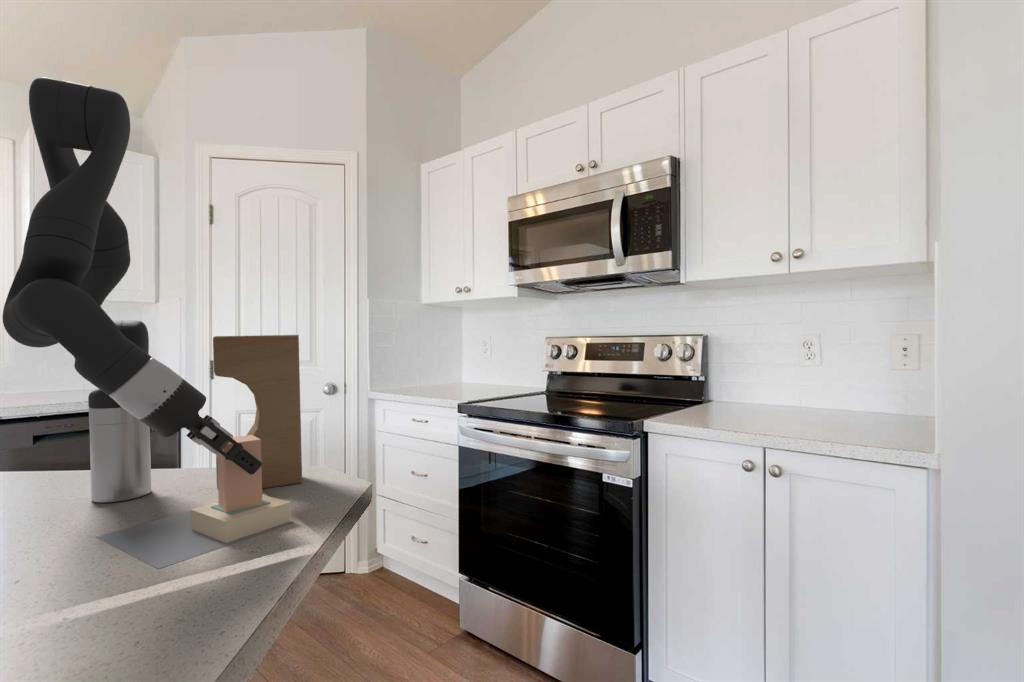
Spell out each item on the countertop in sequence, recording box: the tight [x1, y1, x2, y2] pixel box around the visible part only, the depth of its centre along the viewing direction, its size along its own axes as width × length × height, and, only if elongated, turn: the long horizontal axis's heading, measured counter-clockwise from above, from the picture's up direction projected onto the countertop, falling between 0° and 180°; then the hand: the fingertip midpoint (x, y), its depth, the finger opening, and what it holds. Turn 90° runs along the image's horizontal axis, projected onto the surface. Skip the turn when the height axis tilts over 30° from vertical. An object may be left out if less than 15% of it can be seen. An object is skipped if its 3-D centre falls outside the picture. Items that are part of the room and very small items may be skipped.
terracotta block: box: [217, 434, 263, 512], centre depth 82 cm, size 5×5×10 cm
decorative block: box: [212, 334, 303, 490], centre depth 107 cm, size 15×8×30 cm, turn 120°
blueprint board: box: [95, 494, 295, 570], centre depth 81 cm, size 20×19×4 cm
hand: (249, 464), depth 83 cm, fingers open, 8 cm apart
